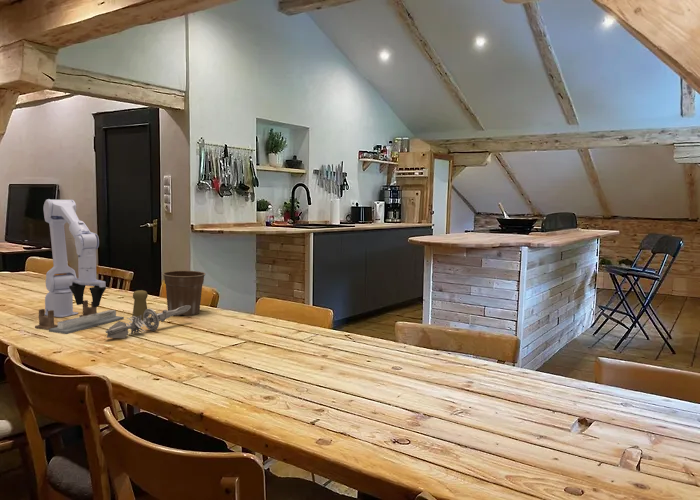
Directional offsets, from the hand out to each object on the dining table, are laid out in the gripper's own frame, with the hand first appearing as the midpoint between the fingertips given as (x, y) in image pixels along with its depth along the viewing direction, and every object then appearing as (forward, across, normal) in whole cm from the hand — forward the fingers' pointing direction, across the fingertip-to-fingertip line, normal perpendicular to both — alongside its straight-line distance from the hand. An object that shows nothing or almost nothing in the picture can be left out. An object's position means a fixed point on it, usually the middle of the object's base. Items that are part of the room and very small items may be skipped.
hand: (87, 305), depth 199 cm
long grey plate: (+7, 0, 0) cm, 7 cm away
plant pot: (+7, +17, +32) cm, 37 cm away
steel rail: (+6, 0, 0) cm, 6 cm away
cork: (+7, +10, +15) cm, 19 cm away
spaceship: (+7, +26, +3) cm, 27 cm away
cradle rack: (+7, -9, 0) cm, 11 cm away
